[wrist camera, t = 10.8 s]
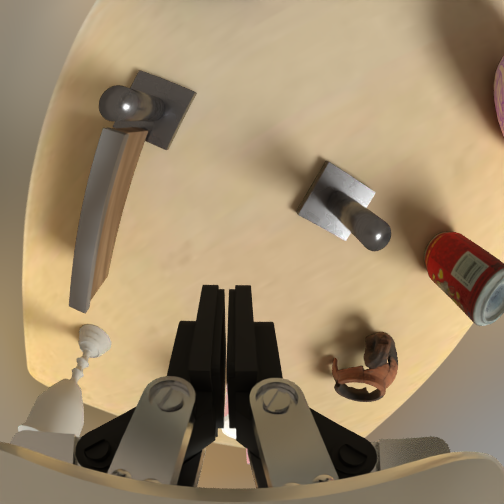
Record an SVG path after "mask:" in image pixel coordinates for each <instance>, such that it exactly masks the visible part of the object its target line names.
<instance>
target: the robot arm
mask: <svg viewBox="0 0 504 504" xmlns="http://www.w3.org/2000/svg"><path fill="white" fill-rule="evenodd" d="M225 367H226V333H225V293H224V289H219V287H218V285H203V286H202V291H201V297H200V302H199V308H198V313H197V319H196V321H180V322H179V325H178V330H177V334H176V338H175V342H174V347H173V351H172V355H171V360H170V364H169V369H168V373H167V376H165V377H160V378H158V379H155V380H153V381H152V382H151V383H149V384H148V385H147V387H146V388H145V390H144V391H143V394H142V396H141V398H140V400H139V402H138V404H137V406H136V407H135V408H133V409H131V410H129V411H127V412H126V413H124V414H122V415H120V416H118V417H117V418H115V419H113V420H111V421H109V422H107V423H105V424H104V425H102V426H100V427H98V428H96V429H94V430H92V431H90V432H88V433H87V434H85V435H84V436H82V437H77V436H76V435H75V434H66V433H52V432H41V431H32V430H22V431H20V432H18V433H16V434H15V435H14V437H13V438H12V440H11V443H10V444H9V443H4V442H0V504H504V467H503V466H502V465H501V463H499V461H498V460H497V459H496V458H494V457H493V456H491V455H489V454H486V453H479V452H467V451H464V452H452V453H450V449H449V447H448V444H447V443H445V441H444V440H443V439H440V438H438V437H421V438H406V439H379V440H378V442H369V441H368V440H366V439H365V438H363V437H361V436H359V435H357V434H355V433H354V432H352V431H350V430H348V429H346V428H344V427H342V426H341V425H339V424H337V423H335V422H333V421H332V420H330V419H328V418H326V417H325V416H323V415H321V414H319V413H318V412H316V411H314V410H313V409H311V408H309V406H308V404H307V401H306V399H305V396H304V394H303V392H302V390H301V389H300V387H299V386H297V385H296V384H295V383H294V382H291V381H289V380H287V379H283V377H282V371H281V365H280V359H279V352H278V346H277V340H276V334H275V328H274V323H273V322H254V320H253V307H252V294H251V285H235V289H229V307H228V336H227V394H228V414H229V428H232V429H236V441H238V442H239V443H240V444H242V445H243V446H244V447H245V448H247V453H248V457H249V461H250V465H251V470H252V474H253V478H254V482H255V486H256V489H255V488H254V489H219V488H198V487H197V485H198V481H199V477H200V473H201V469H202V465H203V460H204V456H205V452H206V446H208V445H209V444H211V443H212V442H213V441H215V437H218V428H224V406H225Z"/></svg>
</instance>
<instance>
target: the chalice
mask: <svg viewBox="0 0 504 504" xmlns="http://www.w3.org/2000/svg"><path fill="white" fill-rule="evenodd" d="M79 346H80V349H81V350H82V352H83V356H82V357H81V358H77V363H78V364H77V367H76V368H74V369H72V378H71V379H70V380H69V379H63V380H61V381H59V382H57V383H56V384H54V385H52V386H51V387H49V388H48V389H47V390H45V391H44V392H43V393H42V394H41V395H40V396H38V398H37V400H36V402H35V404H34V406H33V408H32V410H31V412H30V414H29V416H28V418H27V420H26V422H25V423H23V424H22V425H20V426H18V431H19V432H20V431H22V430H32V431H41V432H52V433H66V434H75V435H76V436H77V437H79V435H80V433H81V429H82V427H83V424H84V408H83V400H82V392H81V388H80V387H79V385H78V384H77V381H78V380H79V379H80V378H81V377H83V369H84V368H86V367H88V366H89V364H88V358H89V357H92V358H96V357H100V356H101V355H102V354H104V353H105V352H107V351H108V350H110V348H111V340H110V338H109V336H108V335H107V333H105V332H104V331H103V330H102V329H101V328H99V327H97V326H94V325H88V324H87V325H83V326H82V327H81V328H80V330H79Z"/></svg>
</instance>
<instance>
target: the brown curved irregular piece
mask: <svg viewBox="0 0 504 504" xmlns="http://www.w3.org/2000/svg"><path fill="white" fill-rule="evenodd" d="M387 359H388V363H387ZM364 361H365V365H366V366H367V367H369V369H366V370H364V368H363V366H358V367H351V368H348V369H342V370H338V367H337V359H336V358H334V360H333V365H332V374H333V377H334V380H335V382H336V384H335V386H334V388H335V391H336V392H337V393H338V394H339V395H341V396H343V397H345V398H347V399H351V400H354V401H359V402H372V401H376V400H379V399H381V398H382V397H383V396H384V395H385V392H386V388H388V387H389V385H391V383H392V382H393V381H394V379H395V376H396V374H397V369H398V358H397V352H396V348H395V342H394V340H393V338H392V337H391V336H390V335H388V334H386V333H384V332H382V333H380V332H379V333H376V334H372V335H369V336H367V337H366V348H365V354H364ZM349 382H358V383H366V384H369V385H372V386H374V387H376V388H377V389H376V390H374V391H373V392H371V393H368V391H367V390H366V387H365V388H363V389H356V388H353V387H348V386H347V385H346V384H345V383H349Z"/></svg>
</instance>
